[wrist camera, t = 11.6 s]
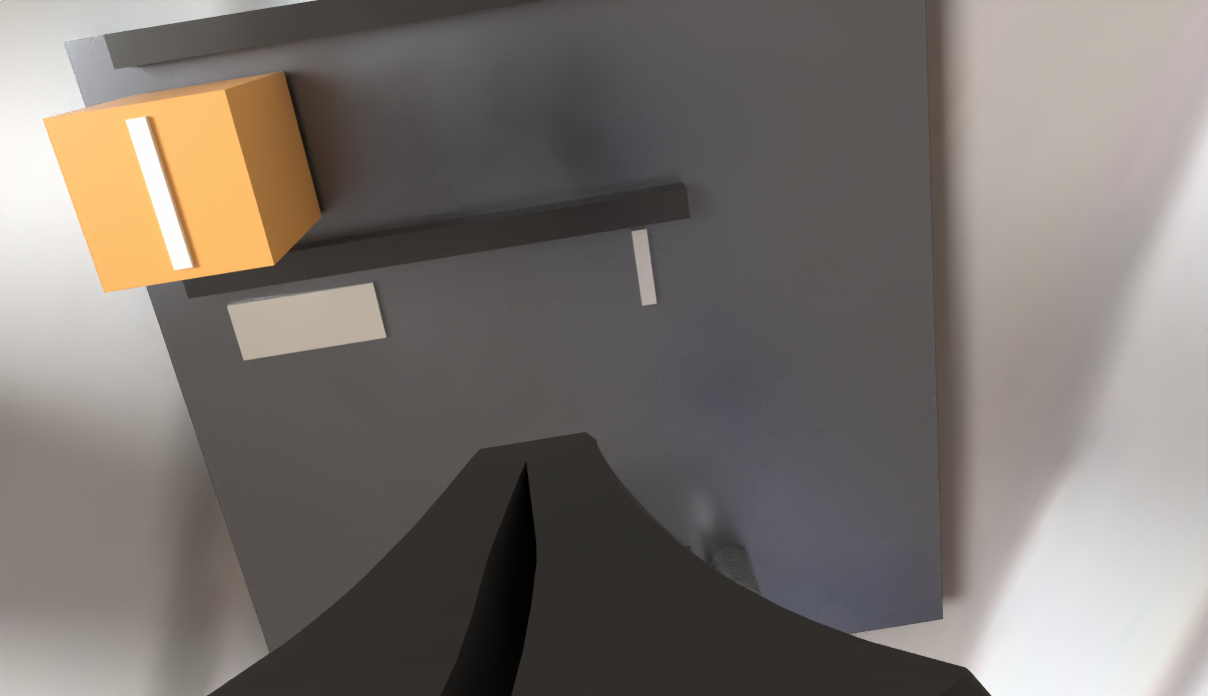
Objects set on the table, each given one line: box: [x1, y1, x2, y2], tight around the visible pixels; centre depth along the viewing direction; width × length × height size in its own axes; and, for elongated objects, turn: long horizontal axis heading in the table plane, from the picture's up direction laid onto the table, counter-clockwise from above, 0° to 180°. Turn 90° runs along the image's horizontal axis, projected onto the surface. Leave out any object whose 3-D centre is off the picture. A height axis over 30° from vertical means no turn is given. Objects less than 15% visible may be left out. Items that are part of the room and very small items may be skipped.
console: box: [64, 0, 943, 653], centre depth 19 cm, size 16×16×5 cm
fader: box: [43, 71, 322, 293], centre depth 17 cm, size 3×3×4 cm
